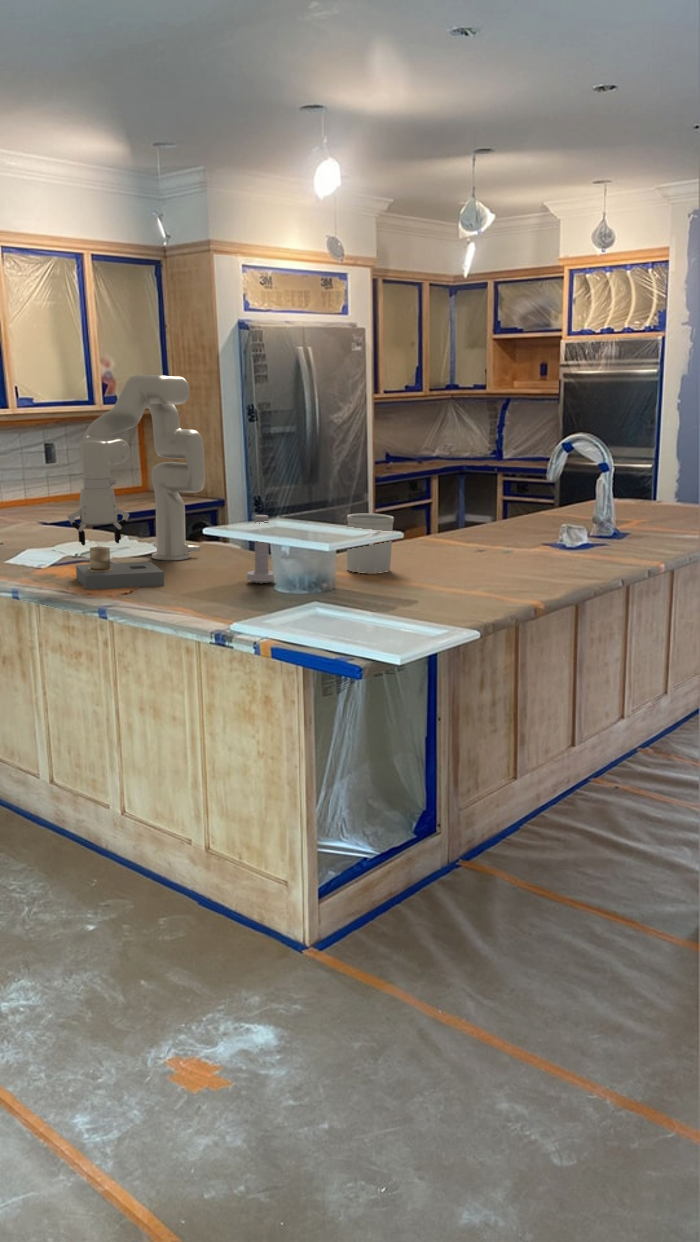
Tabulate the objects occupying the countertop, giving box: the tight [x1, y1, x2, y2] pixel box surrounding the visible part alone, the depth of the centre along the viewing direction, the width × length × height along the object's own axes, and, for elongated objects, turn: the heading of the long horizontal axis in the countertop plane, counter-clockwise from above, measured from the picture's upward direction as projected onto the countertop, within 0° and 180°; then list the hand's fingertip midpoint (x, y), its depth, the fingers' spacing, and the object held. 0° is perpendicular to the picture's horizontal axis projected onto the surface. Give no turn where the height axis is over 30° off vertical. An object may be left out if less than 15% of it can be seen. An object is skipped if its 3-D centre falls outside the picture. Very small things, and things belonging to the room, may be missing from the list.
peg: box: [89, 546, 111, 571], centre depth 291 cm, size 6×6×10 cm
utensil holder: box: [346, 512, 395, 573], centre depth 318 cm, size 15×15×18 cm
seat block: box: [75, 561, 165, 591], centre depth 294 cm, size 22×18×4 cm
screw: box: [246, 514, 274, 585], centre depth 295 cm, size 8×8×20 cm
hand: (100, 543), depth 290 cm, fingers open, 9 cm apart
